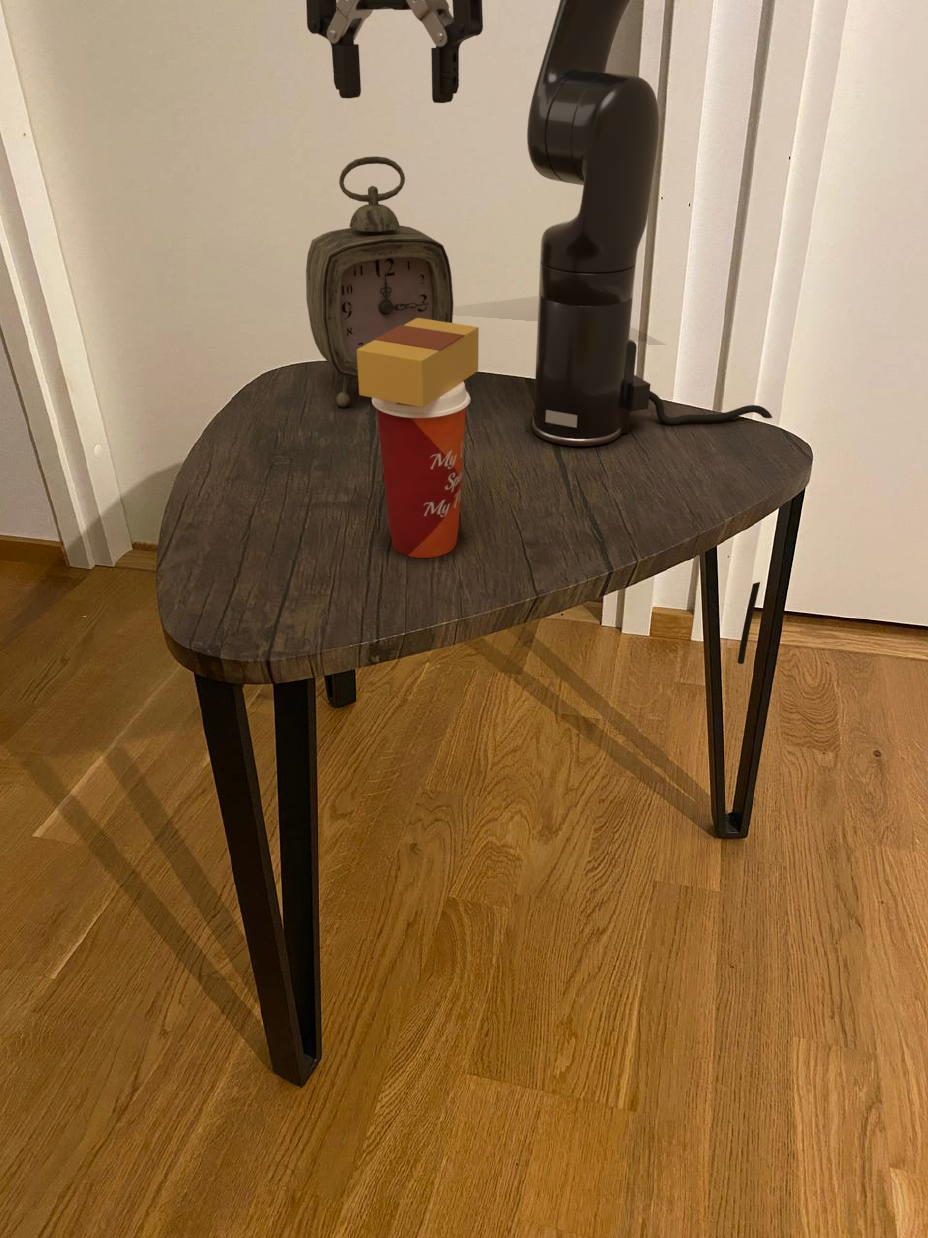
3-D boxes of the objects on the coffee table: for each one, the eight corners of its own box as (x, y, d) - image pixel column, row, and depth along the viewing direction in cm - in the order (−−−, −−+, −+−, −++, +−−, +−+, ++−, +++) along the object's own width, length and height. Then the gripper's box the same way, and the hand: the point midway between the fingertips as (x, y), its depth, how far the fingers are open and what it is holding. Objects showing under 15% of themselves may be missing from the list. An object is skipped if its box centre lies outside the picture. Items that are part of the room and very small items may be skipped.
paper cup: (459, 568, 80) (459, 404, 72) (368, 559, 81) (358, 396, 73) (477, 524, 86) (479, 369, 78) (393, 516, 87) (386, 362, 80)
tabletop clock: (330, 415, 107) (311, 167, 94) (310, 388, 115) (290, 153, 101) (454, 397, 112) (452, 158, 98) (427, 373, 119) (422, 146, 105)
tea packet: (417, 360, 80) (416, 316, 78) (479, 370, 78) (479, 326, 76) (358, 395, 73) (355, 348, 72) (423, 407, 71) (422, 359, 69)
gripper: (500, -160, 69) (496, 99, 78) (331, -150, 75) (345, 91, 83) (450, -172, 63) (452, 109, 72) (272, -160, 69) (294, 100, 78)
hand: (395, 99), depth 78 cm, fingers open, 8 cm apart
